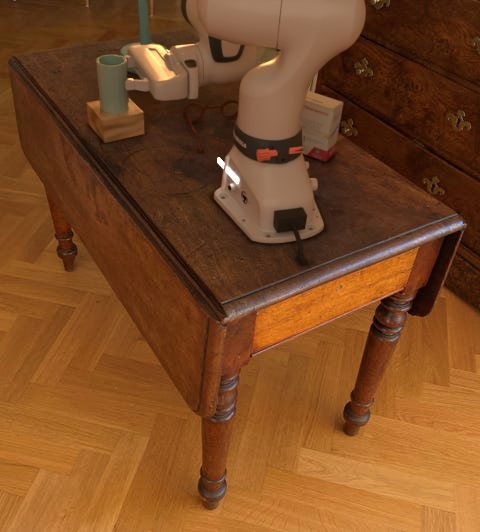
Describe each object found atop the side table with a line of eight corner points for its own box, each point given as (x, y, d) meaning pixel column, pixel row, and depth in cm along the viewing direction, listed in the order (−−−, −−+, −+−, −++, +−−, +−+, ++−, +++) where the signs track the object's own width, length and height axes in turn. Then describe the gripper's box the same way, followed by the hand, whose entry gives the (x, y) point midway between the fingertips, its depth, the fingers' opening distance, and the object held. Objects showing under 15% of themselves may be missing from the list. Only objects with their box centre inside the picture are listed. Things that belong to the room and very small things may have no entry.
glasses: (239, 117, 137) (240, 96, 134) (258, 146, 128) (260, 124, 125) (182, 123, 133) (182, 102, 130) (198, 153, 124) (199, 131, 121)
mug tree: (119, 56, 158) (112, -49, 142) (167, 55, 161) (165, -47, 144) (121, 76, 149) (113, -33, 133) (171, 75, 151) (170, -32, 135)
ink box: (335, 153, 128) (345, 101, 120) (325, 162, 125) (334, 110, 117) (300, 140, 131) (307, 88, 123) (289, 149, 128) (295, 96, 120)
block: (144, 134, 129) (143, 112, 125) (104, 143, 125) (102, 121, 122) (127, 115, 134) (125, 94, 131) (88, 124, 130) (86, 102, 127)
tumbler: (131, 112, 125) (128, 65, 119) (102, 114, 124) (98, 67, 117) (126, 99, 129) (123, 53, 123) (98, 101, 128) (93, 55, 121)
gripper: (166, 34, 132) (103, 40, 127) (200, 72, 118) (131, 80, 113) (166, 62, 136) (106, 69, 131) (200, 102, 122) (133, 111, 117)
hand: (118, 75), depth 122 cm, fingers open, 8 cm apart
